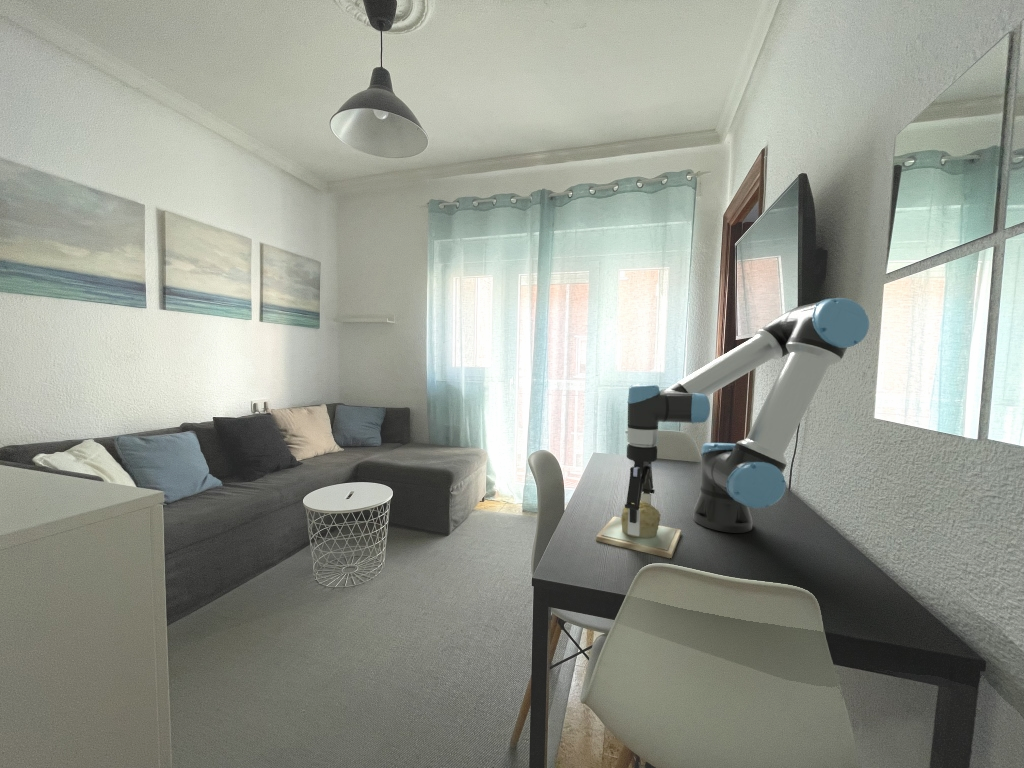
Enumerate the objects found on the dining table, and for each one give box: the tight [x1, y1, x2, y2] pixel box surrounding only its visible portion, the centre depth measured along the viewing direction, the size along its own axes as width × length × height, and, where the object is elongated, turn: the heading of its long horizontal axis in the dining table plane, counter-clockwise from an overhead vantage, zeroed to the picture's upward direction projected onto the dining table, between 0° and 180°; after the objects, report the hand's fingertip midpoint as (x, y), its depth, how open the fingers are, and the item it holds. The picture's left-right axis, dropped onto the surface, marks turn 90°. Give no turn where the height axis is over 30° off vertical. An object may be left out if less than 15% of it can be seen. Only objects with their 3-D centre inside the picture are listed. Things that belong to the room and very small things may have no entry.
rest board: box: [595, 516, 682, 559], centre depth 104 cm, size 18×16×1 cm
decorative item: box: [620, 502, 661, 538], centre depth 104 cm, size 10×10×10 cm
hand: (639, 525), depth 104 cm, fingers open, 13 cm apart
